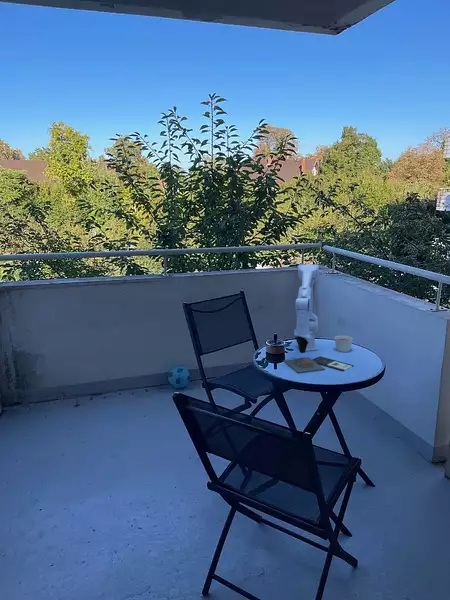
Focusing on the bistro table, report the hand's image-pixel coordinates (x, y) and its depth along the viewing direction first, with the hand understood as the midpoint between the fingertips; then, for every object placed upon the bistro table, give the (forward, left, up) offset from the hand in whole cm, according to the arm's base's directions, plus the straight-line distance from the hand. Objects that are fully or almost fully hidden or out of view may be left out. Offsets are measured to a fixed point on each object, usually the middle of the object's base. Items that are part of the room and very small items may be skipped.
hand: (302, 352), depth 192 cm
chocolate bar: (+3, +13, -7) cm, 15 cm away
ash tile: (-3, 0, -4) cm, 5 cm away
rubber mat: (+1, 0, -6) cm, 6 cm away
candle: (-13, +29, -6) cm, 32 cm away
